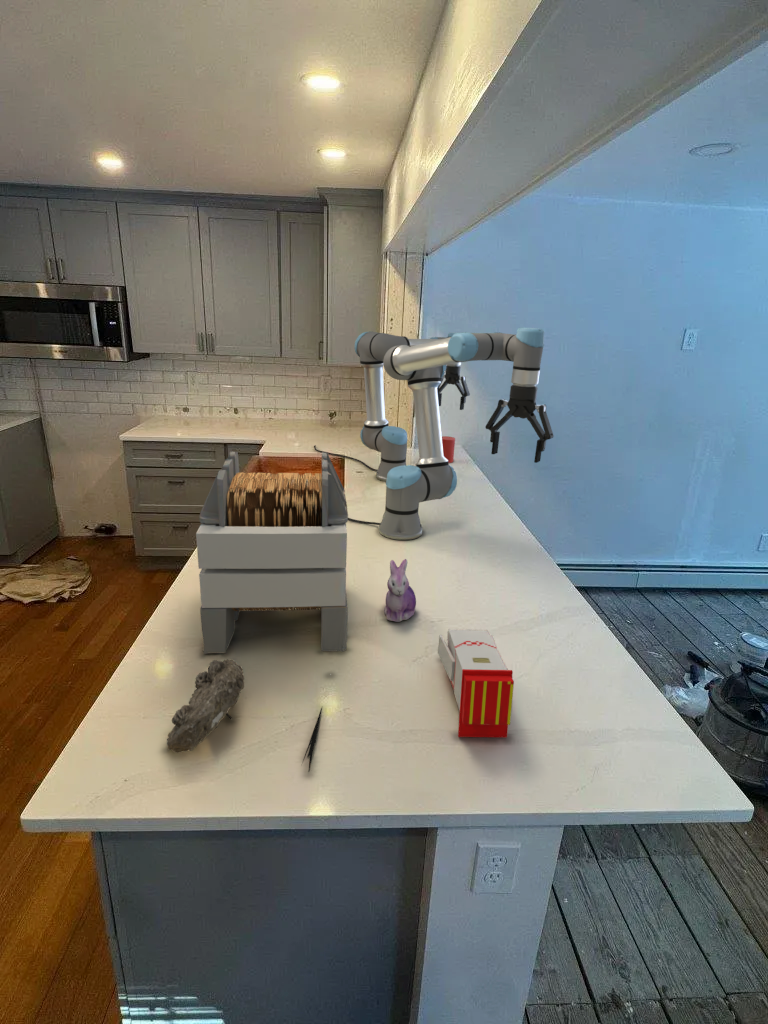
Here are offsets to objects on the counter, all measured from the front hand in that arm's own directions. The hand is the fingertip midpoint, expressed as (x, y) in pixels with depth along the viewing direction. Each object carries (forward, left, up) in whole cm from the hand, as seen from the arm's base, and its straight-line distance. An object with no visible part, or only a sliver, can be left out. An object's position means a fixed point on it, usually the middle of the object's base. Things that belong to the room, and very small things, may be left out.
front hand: (515, 457), depth 168 cm
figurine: (+4, -48, -35) cm, 59 cm away
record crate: (-13, -73, -35) cm, 82 cm away
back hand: (-100, +79, -7) cm, 128 cm away
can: (-100, +79, -35) cm, 132 cm away
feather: (+25, -87, -35) cm, 97 cm away
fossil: (+11, -102, -35) cm, 109 cm away
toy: (+37, -57, -35) cm, 76 cm away
